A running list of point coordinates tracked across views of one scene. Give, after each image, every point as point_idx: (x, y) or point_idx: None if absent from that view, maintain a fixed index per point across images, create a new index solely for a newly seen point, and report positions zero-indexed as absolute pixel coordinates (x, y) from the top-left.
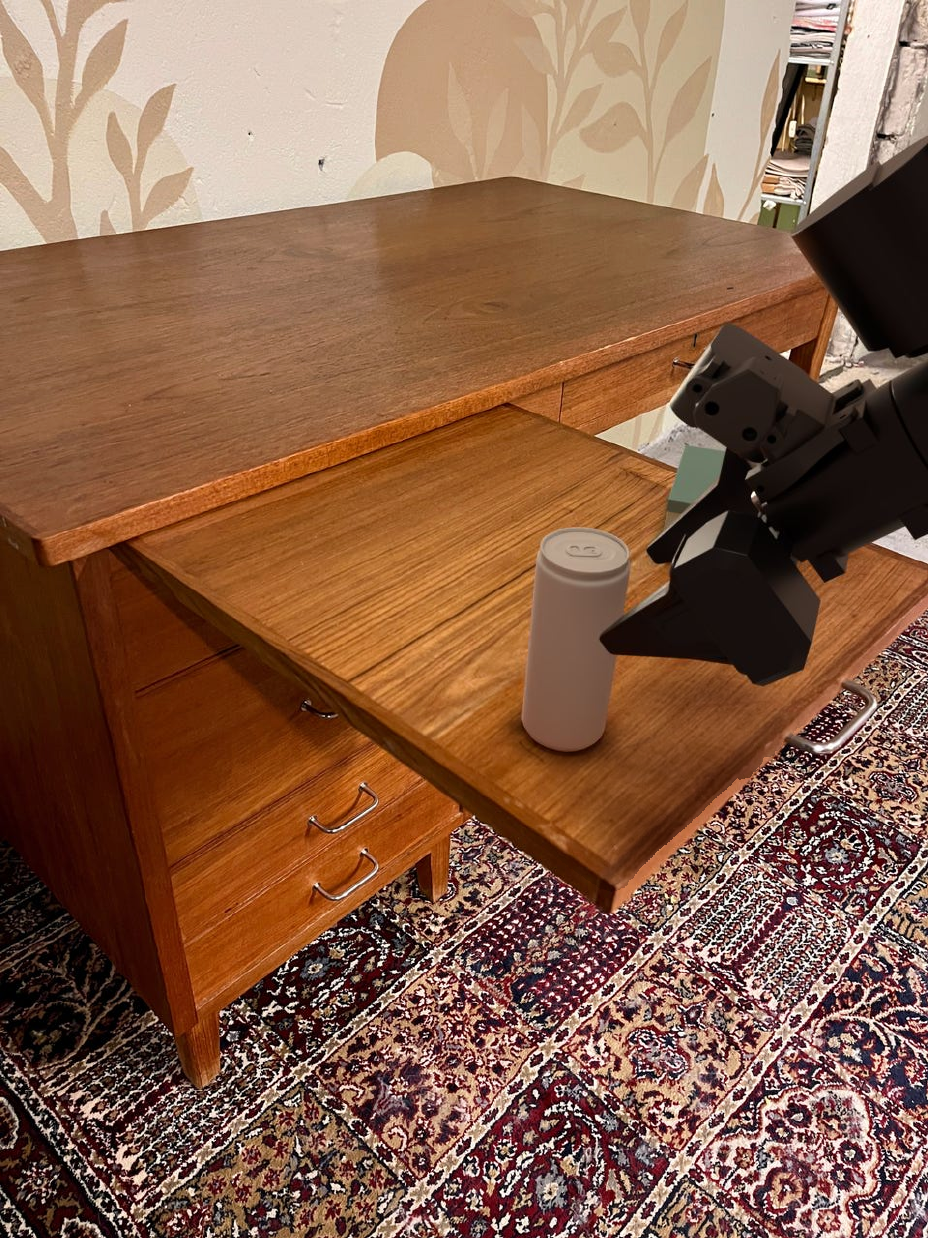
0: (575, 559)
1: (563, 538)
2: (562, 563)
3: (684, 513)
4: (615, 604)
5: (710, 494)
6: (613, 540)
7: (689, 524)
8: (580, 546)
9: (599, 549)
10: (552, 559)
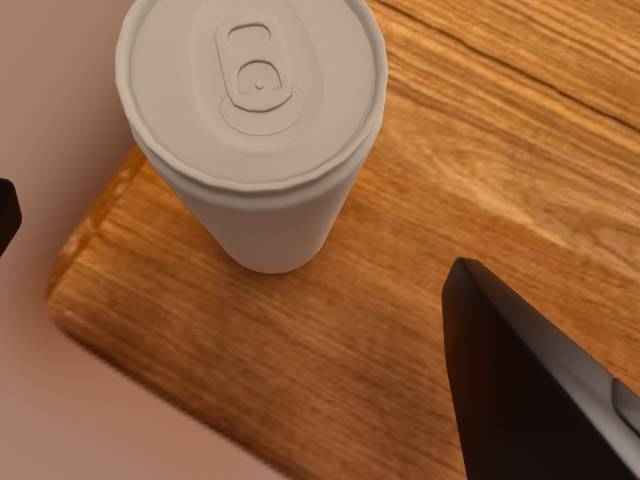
0: (194, 43)
1: (307, 1)
2: (165, 13)
3: (542, 349)
4: (192, 206)
5: (612, 467)
6: (350, 140)
7: (505, 372)
8: (270, 49)
9: (267, 102)
10: None
